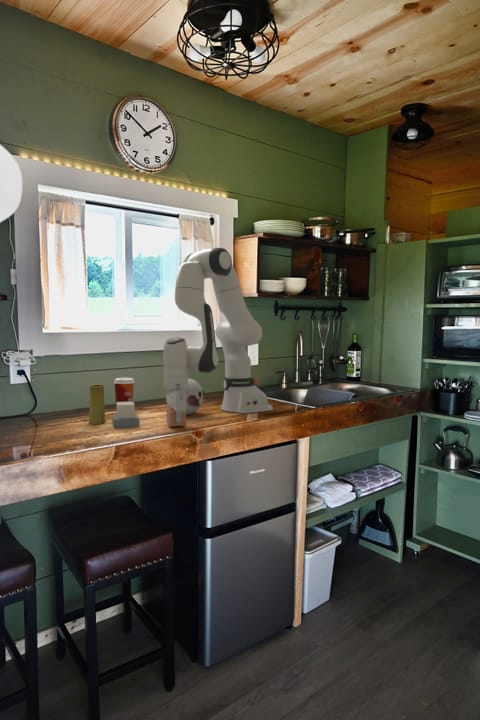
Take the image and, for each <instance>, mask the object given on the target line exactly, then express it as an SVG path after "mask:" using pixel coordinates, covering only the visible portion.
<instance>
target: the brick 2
mask: <svg viewBox="0 0 480 720" xmlns="http://www.w3.org/2000/svg"><path fill="white" fill-rule="evenodd" d="M166 423H167V424H168V426H169V427H181V426H187V415H186V412H182V416H181V422H176V411H175V410H174V409H170V408H169V409H166Z"/></svg>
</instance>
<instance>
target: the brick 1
mask: <svg viewBox="0 0 480 720" xmlns="http://www.w3.org/2000/svg"><path fill="white" fill-rule="evenodd" d="M135 409H136V408H135V403H134V401H133V402H117V410H116V415H117V417H118V419H122V418H135V413H136V411H135Z"/></svg>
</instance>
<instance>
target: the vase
mask: <svg viewBox="0 0 480 720" xmlns="http://www.w3.org/2000/svg"><path fill="white" fill-rule="evenodd" d="M104 392H105V385H104V384H101V383H100V384H99V383H98V384H97V383H96V384H91V385H89V414H88V415H89V420H88V423H89V424H90V425H100V424H105V423H106V422H107V421H106V409H105V408H106V407H105V393H104Z"/></svg>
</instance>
